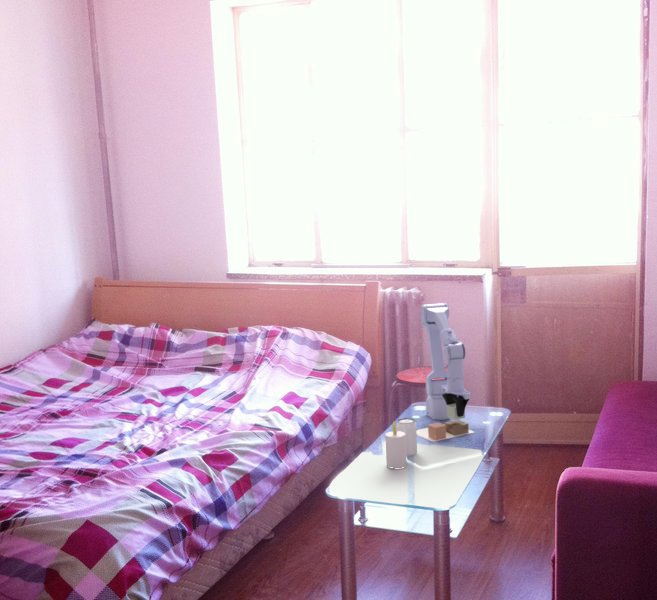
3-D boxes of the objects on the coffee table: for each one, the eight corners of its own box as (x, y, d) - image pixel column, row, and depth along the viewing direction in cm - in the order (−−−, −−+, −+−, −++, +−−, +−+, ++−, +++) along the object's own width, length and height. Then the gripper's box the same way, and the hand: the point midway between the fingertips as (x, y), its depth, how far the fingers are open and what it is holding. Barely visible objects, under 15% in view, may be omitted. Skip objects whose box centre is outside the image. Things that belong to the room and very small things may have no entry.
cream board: (410, 434, 276) (410, 431, 276) (451, 425, 284) (451, 422, 284) (432, 444, 264) (432, 441, 263) (475, 434, 272) (475, 432, 271)
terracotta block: (428, 436, 269) (428, 424, 268) (438, 434, 271) (438, 422, 270) (435, 440, 265) (435, 427, 264) (446, 437, 267) (445, 425, 266)
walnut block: (444, 431, 274) (444, 422, 274) (458, 428, 277) (458, 419, 276) (454, 435, 269) (454, 426, 268) (468, 432, 271) (468, 423, 271)
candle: (406, 462, 248) (405, 417, 246) (405, 469, 242) (404, 423, 240) (387, 462, 249) (385, 417, 247) (385, 469, 243) (384, 423, 241)
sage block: (457, 414, 275) (457, 402, 274) (465, 417, 271) (464, 405, 270) (447, 417, 273) (447, 405, 272) (454, 420, 269) (454, 407, 268)
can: (395, 458, 252) (394, 423, 250) (399, 451, 258) (398, 417, 257) (415, 459, 250) (414, 423, 249) (418, 452, 256) (417, 417, 255)
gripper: (433, 375, 275) (435, 411, 276) (458, 382, 262) (459, 421, 264) (449, 372, 278) (451, 408, 280) (475, 379, 265) (475, 417, 267)
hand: (456, 414), depth 272 cm, fingers closed on sage block, 4 cm apart
